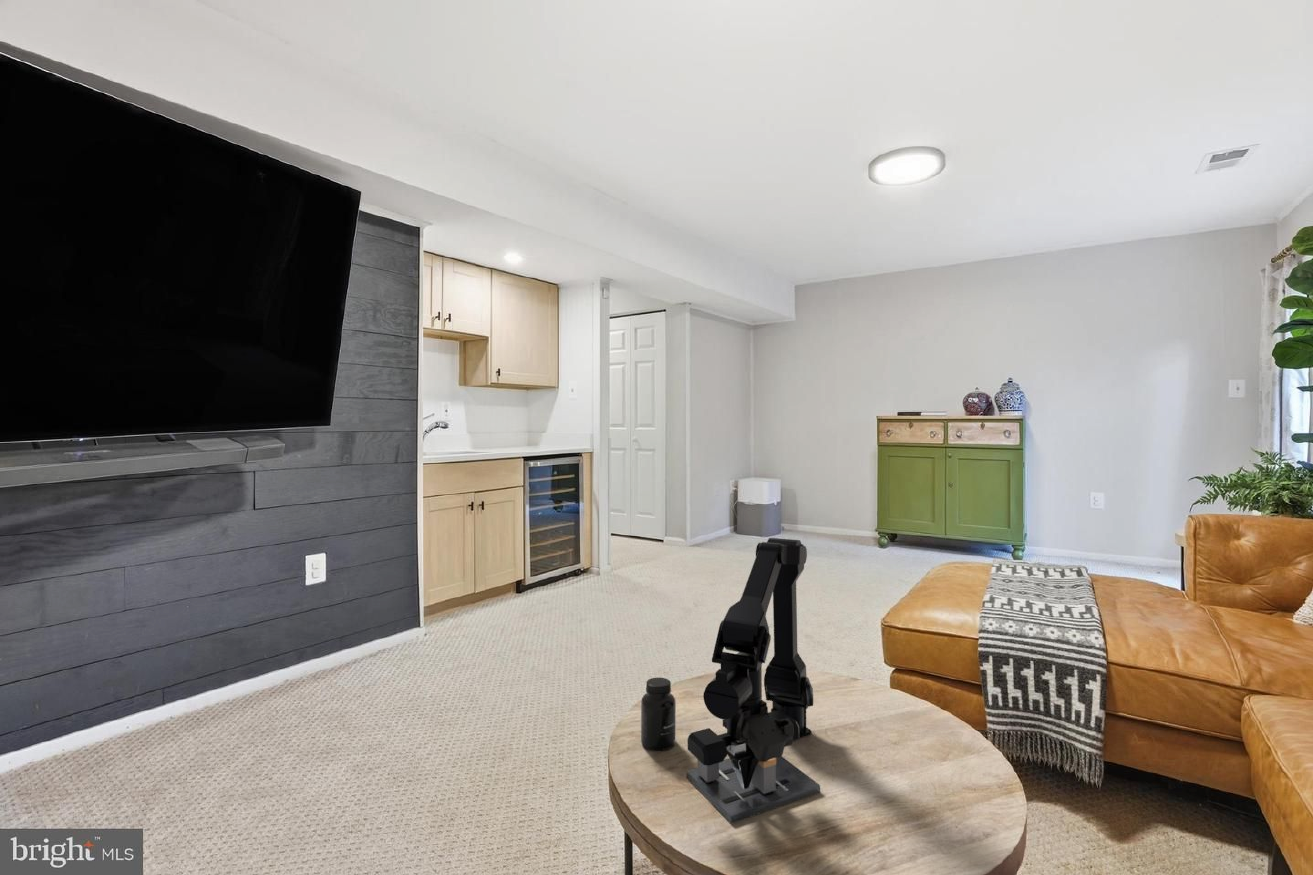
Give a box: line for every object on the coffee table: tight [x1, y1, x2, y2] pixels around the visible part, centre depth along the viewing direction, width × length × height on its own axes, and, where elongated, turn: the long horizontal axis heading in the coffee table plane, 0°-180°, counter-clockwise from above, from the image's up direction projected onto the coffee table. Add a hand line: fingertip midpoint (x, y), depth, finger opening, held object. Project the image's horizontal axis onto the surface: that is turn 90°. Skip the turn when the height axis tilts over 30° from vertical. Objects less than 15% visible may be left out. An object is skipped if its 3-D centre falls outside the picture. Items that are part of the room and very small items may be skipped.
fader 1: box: [696, 758, 719, 782], centre depth 103 cm, size 3×3×5 cm
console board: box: [686, 755, 821, 825], centre depth 102 cm, size 18×14×1 cm
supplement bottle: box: [640, 677, 677, 751], centre depth 117 cm, size 7×7×12 cm
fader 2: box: [752, 758, 776, 794], centre depth 99 cm, size 3×3×5 cm
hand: (744, 787), depth 98 cm, fingers closed
